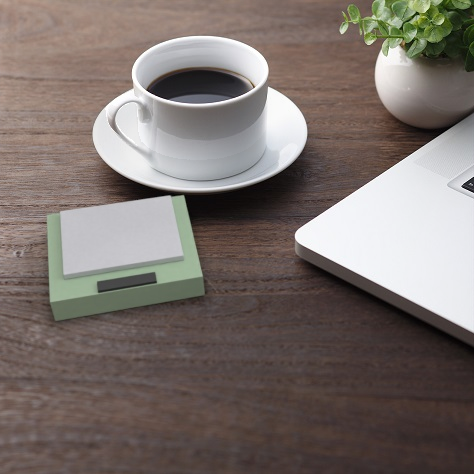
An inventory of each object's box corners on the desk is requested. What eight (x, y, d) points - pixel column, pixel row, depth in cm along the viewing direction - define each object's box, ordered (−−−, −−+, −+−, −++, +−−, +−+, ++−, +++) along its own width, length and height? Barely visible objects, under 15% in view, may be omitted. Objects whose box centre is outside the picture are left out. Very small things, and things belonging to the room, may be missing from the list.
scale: (55, 321, 71) (48, 297, 69) (51, 233, 80) (45, 209, 78) (204, 295, 75) (202, 271, 73) (186, 213, 83) (183, 190, 81)
